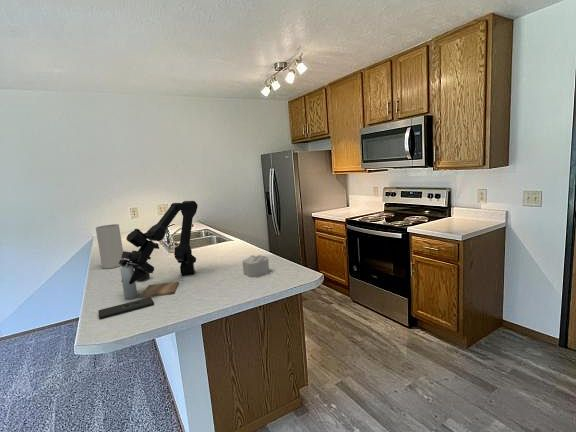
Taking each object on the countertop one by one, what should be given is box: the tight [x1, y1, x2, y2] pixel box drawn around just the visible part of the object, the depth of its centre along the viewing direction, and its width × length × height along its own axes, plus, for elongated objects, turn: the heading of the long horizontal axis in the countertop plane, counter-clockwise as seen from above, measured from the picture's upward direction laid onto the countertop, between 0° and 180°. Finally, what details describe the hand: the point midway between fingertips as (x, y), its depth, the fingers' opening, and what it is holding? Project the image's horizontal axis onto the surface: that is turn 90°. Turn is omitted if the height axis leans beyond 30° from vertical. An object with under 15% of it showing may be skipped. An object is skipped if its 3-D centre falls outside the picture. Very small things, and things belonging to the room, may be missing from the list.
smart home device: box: [98, 297, 155, 320], centre depth 133 cm, size 8×2×20 cm
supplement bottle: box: [136, 261, 151, 282], centre depth 169 cm, size 7×7×12 cm
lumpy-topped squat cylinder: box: [242, 254, 270, 278], centre depth 166 cm, size 10×13×9 cm
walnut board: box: [140, 281, 180, 299], centre depth 151 cm, size 14×14×1 cm
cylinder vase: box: [95, 223, 124, 270], centre depth 198 cm, size 12×12×25 cm
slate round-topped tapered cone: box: [119, 265, 138, 301], centre depth 144 cm, size 5×5×14 cm
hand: (126, 283), depth 143 cm, fingers closed on slate round-topped tapered cone, 5 cm apart
